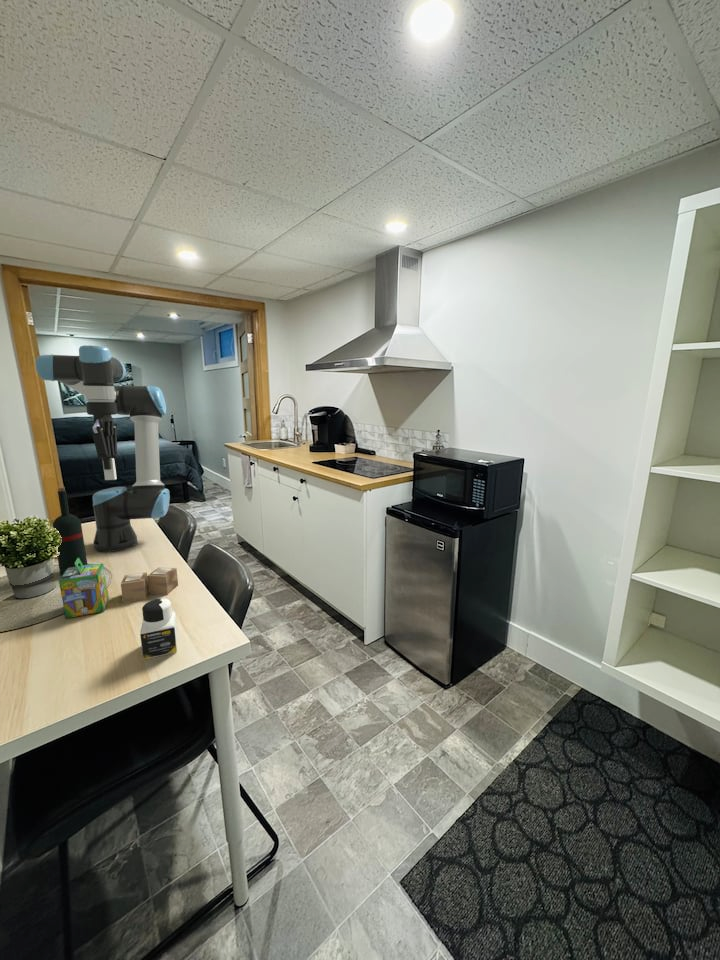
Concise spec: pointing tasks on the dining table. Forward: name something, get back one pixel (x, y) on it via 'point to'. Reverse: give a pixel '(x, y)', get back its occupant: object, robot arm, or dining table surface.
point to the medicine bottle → (158, 629)
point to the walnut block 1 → (134, 587)
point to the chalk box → (83, 589)
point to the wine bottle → (69, 536)
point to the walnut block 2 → (162, 580)
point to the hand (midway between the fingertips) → (110, 479)
